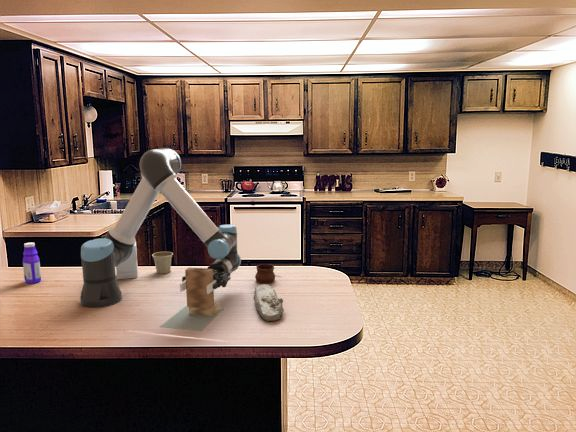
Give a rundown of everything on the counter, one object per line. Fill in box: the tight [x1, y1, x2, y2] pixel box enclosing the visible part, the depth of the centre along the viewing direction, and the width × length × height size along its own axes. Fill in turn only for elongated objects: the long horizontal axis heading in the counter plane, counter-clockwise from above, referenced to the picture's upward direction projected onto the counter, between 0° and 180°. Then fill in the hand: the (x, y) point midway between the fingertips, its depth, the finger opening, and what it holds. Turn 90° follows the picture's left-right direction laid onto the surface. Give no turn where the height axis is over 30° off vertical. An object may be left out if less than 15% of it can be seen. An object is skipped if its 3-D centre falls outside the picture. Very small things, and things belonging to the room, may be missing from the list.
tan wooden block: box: [189, 302, 222, 317], centre depth 173 cm, size 10×5×3 cm, turn 76°
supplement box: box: [115, 241, 139, 280], centre depth 218 cm, size 9×9×15 cm
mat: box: [159, 305, 224, 332], centre depth 169 cm, size 15×20×1 cm
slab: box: [184, 267, 215, 309], centre depth 168 cm, size 9×3×14 cm, turn 76°
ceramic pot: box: [254, 263, 284, 285], centre depth 210 cm, size 18×18×7 cm
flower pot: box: [151, 251, 174, 275], centre depth 224 cm, size 9×9×9 cm
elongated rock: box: [253, 284, 285, 322], centre depth 182 cm, size 35×5×10 cm
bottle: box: [22, 242, 42, 284], centre depth 210 cm, size 7×6×17 cm
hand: (194, 288), depth 164 cm, fingers open, 9 cm apart
